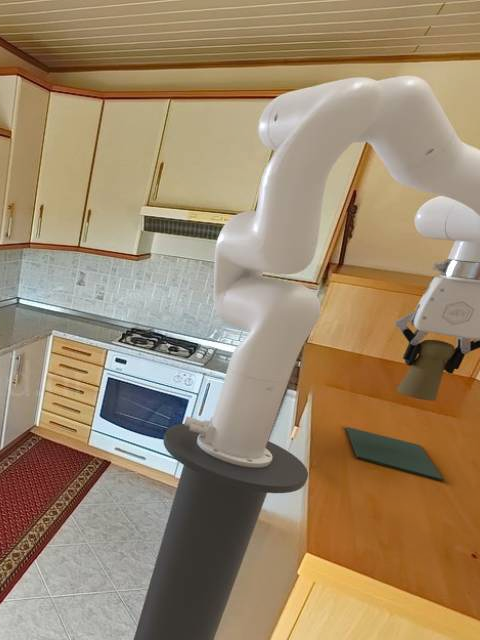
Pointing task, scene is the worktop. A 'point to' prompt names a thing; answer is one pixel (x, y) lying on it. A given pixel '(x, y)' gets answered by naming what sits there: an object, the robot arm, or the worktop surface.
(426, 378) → the cork
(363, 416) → the worktop surface
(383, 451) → the side mat
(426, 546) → the worktop surface
